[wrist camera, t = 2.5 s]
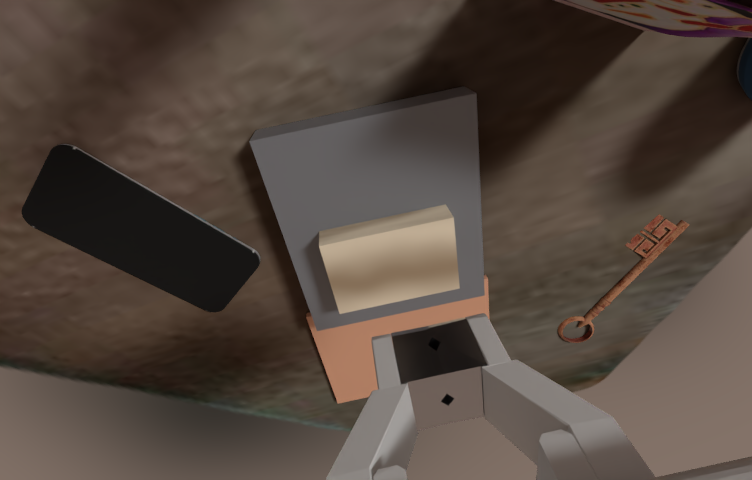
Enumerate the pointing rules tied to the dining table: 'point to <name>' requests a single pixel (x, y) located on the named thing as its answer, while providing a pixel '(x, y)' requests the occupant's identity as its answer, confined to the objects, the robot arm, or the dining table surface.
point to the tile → (391, 258)
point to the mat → (354, 348)
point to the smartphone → (136, 229)
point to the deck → (375, 186)
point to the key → (648, 257)
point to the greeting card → (676, 15)
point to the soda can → (745, 68)
